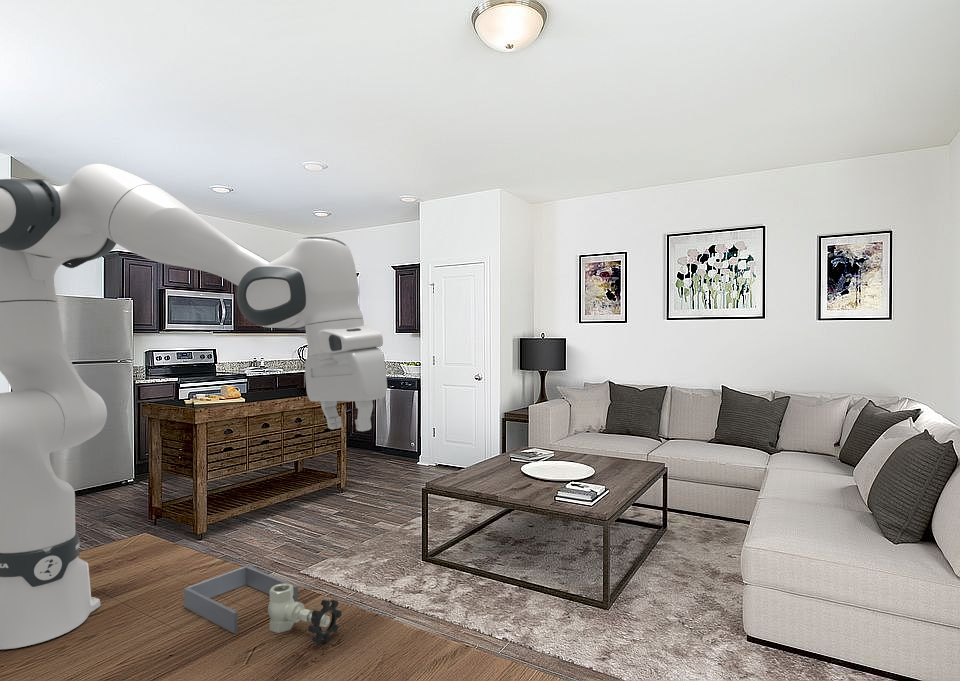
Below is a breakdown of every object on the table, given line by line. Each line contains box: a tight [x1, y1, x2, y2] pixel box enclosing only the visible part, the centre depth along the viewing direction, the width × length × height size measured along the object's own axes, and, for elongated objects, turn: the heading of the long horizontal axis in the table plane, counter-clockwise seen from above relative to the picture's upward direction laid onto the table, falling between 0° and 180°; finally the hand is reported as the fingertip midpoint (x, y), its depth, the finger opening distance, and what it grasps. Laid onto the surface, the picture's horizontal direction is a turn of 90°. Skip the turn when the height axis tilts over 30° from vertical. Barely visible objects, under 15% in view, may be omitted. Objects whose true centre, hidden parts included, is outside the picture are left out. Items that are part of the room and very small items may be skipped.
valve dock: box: [183, 565, 299, 635], centre depth 103 cm, size 16×12×3 cm
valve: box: [267, 583, 343, 645], centre depth 93 cm, size 7×7×12 cm
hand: (349, 429), depth 90 cm, fingers open, 8 cm apart
